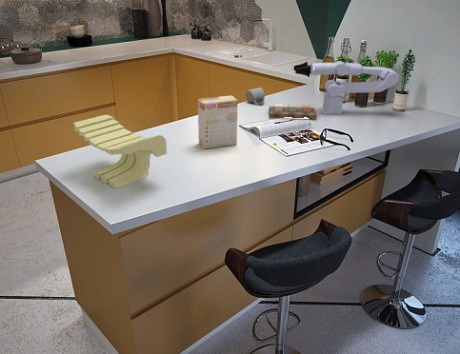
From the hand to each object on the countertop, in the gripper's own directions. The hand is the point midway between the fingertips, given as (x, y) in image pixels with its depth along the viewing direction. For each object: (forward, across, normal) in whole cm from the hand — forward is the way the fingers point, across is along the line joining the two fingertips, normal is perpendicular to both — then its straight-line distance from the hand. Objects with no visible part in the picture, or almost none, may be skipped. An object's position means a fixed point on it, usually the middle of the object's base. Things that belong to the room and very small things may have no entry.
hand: (294, 69), depth 215 cm
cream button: (+8, +7, +19) cm, 22 cm away
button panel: (+1, +7, +22) cm, 23 cm away
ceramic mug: (+19, -13, +20) cm, 31 cm away
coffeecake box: (+36, +48, +21) cm, 64 cm away
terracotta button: (-6, +7, +20) cm, 22 cm away
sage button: (+1, +7, +20) cm, 21 cm away
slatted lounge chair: (+68, +80, +20) cm, 107 cm away
